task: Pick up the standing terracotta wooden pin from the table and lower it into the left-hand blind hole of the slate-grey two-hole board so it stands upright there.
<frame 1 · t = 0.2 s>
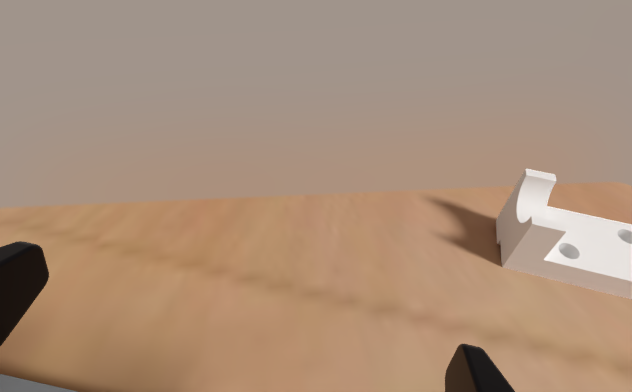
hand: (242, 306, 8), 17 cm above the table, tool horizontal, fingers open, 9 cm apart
bracket: (566, 269, 38), on the table
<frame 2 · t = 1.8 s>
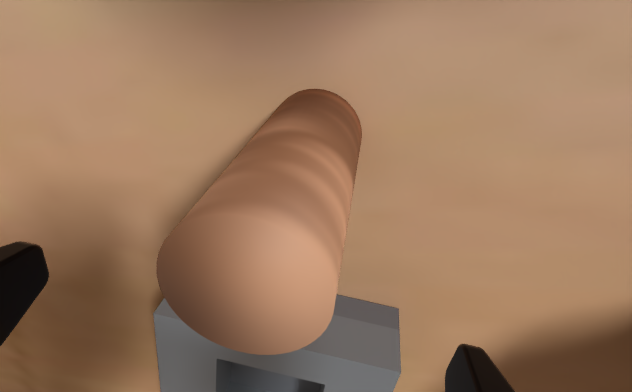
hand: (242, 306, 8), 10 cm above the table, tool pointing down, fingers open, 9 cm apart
hole board: (275, 390, 27), on the table
pin: (316, 134, 17), on the table
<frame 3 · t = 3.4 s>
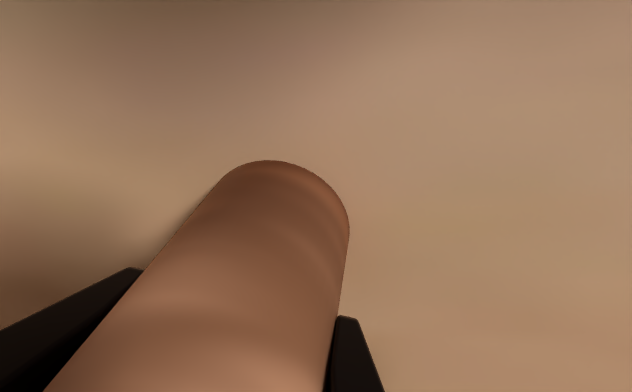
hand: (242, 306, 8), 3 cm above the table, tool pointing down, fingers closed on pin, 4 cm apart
pin: (277, 226, 11), on the table, touching gripper
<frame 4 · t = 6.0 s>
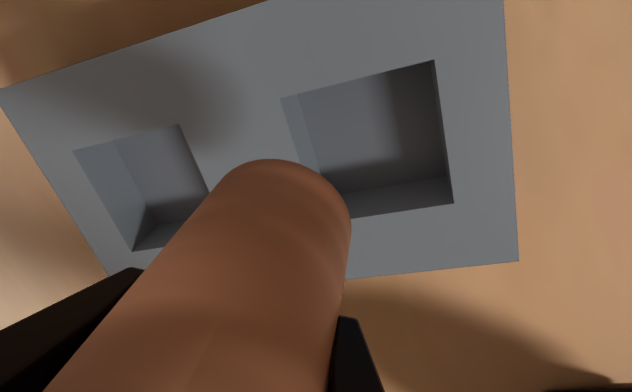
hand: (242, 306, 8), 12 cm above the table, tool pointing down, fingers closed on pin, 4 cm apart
hole board: (276, 141, 20), on the table
pin: (279, 225, 11), point 9 cm above the table, touching gripper
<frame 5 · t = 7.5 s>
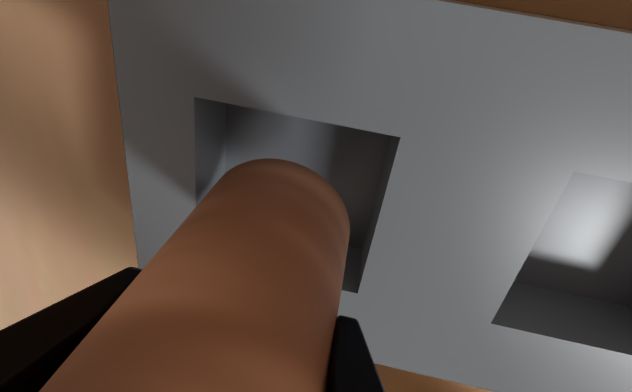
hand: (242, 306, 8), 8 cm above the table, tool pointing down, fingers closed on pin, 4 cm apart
hole board: (435, 179, 15), on the table
pin: (277, 225, 11), point 5 cm above the table, touching gripper
when the fingers open (5 cm above the table, at t = 8.8 s): pin stays where it is, resting on hole board.
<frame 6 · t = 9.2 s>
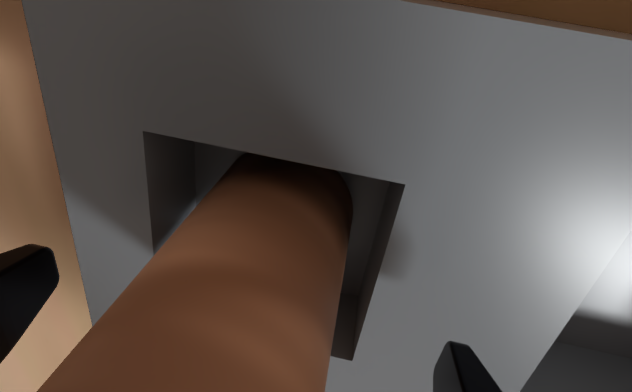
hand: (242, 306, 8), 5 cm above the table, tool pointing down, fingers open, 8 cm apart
hole board: (445, 216, 12), on the table
pin: (285, 207, 11), point 2 cm above the table, touching hole board
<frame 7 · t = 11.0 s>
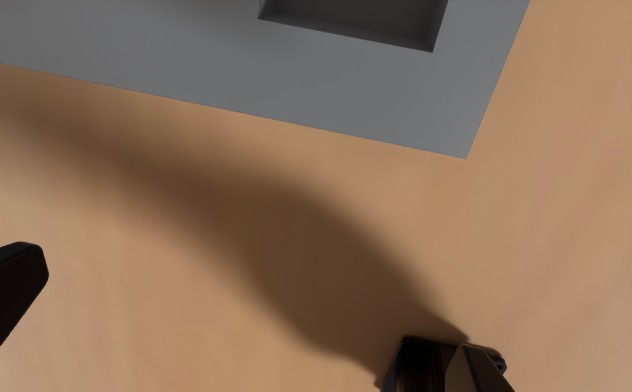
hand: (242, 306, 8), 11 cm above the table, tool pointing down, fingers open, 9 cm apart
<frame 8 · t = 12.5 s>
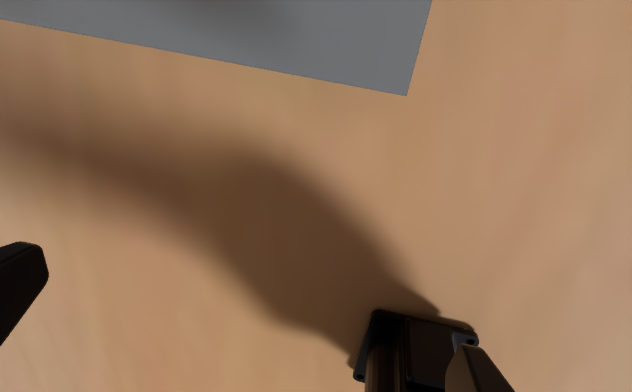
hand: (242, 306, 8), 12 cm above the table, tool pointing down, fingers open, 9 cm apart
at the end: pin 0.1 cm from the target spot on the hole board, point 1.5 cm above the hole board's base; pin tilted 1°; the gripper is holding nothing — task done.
